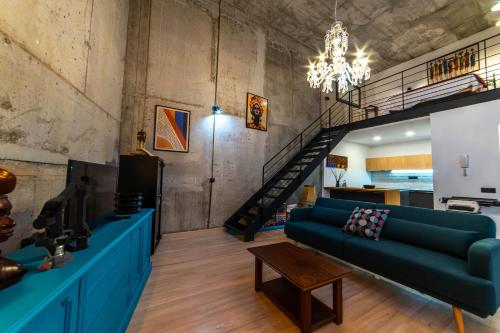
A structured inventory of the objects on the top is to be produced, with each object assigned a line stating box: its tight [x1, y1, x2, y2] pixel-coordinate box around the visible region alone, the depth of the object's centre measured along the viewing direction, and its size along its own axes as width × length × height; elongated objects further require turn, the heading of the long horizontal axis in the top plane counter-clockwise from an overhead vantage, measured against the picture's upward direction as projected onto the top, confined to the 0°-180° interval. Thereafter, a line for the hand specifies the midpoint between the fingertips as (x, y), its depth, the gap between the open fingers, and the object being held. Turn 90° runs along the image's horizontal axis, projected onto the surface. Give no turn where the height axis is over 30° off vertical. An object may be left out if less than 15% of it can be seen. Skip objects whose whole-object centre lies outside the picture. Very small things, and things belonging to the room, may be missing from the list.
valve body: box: [37, 251, 75, 272], centre depth 103 cm, size 14×10×5 cm
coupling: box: [50, 245, 65, 258], centre depth 103 cm, size 5×5×5 cm
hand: (56, 254), depth 103 cm, fingers closed on coupling, 5 cm apart
